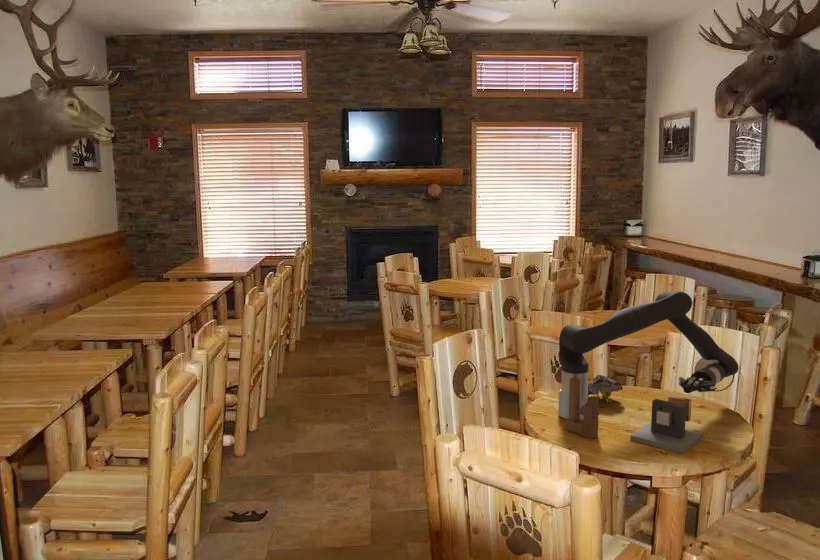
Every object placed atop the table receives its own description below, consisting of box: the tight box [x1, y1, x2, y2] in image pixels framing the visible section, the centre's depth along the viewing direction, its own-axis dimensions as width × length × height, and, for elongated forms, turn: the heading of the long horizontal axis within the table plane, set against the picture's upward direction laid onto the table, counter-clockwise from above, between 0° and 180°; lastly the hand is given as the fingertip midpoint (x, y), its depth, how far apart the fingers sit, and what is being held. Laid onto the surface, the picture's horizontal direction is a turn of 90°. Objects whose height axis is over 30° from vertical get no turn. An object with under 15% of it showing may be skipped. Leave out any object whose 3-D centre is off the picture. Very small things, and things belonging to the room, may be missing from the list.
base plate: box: [629, 422, 705, 454], centre depth 222 cm, size 17×17×2 cm
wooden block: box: [565, 378, 600, 440], centre depth 226 cm, size 4×11×18 cm, turn 37°
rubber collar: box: [650, 398, 687, 439], centre depth 221 cm, size 10×3×10 cm, turn 46°
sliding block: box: [656, 395, 693, 426], centre depth 223 cm, size 7×14×7 cm, turn 136°
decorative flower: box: [588, 374, 623, 406], centre depth 259 cm, size 14×12×15 cm
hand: (686, 390), depth 230 cm, fingers closed
